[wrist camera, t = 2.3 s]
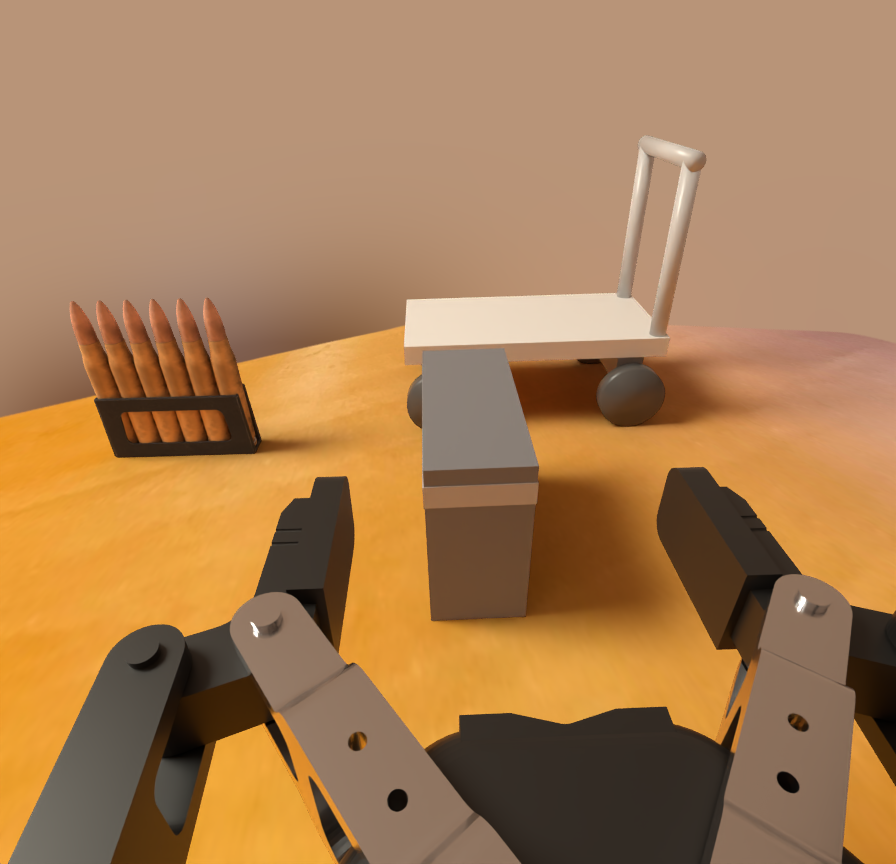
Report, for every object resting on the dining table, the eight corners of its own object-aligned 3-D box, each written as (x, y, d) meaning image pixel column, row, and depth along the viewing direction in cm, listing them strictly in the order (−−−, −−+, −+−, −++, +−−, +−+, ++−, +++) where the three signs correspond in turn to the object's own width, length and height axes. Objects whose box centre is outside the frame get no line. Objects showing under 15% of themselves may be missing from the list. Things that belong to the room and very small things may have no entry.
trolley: (613, 357, 55) (649, 133, 44) (658, 424, 44) (719, 153, 34) (411, 364, 54) (397, 139, 43) (409, 434, 44) (390, 162, 33)
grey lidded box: (499, 476, 39) (505, 347, 34) (526, 617, 29) (540, 466, 24) (428, 479, 39) (421, 350, 34) (430, 622, 29) (421, 471, 24)
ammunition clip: (115, 457, 42) (49, 306, 35) (126, 444, 44) (65, 296, 37) (255, 453, 42) (216, 302, 36) (262, 439, 44) (225, 292, 37)
